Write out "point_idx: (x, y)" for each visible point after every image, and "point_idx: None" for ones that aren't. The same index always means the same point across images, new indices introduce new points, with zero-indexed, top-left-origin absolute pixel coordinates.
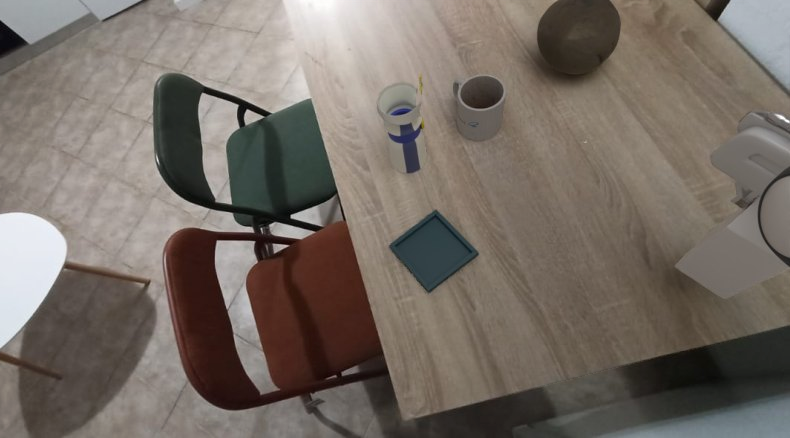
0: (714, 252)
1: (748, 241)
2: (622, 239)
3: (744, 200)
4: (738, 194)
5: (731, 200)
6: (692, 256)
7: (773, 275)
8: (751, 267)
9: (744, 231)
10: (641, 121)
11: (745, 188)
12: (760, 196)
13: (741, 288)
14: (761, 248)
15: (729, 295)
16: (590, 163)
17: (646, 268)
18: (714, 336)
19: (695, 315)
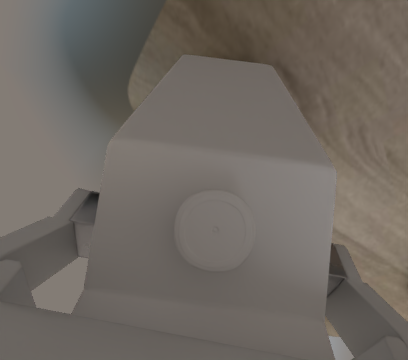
0: (266, 99)
1: (255, 152)
2: (330, 86)
3: (338, 276)
4: (366, 290)
5: (346, 250)
6: (278, 82)
7: (144, 101)
8: (191, 99)
9: (285, 179)
10: (352, 243)
11: (400, 348)
12: (323, 323)
13: (176, 68)
14: (213, 149)
15: (181, 58)
16: (405, 174)
17: (282, 60)
18: (160, 12)
19: (195, 28)
